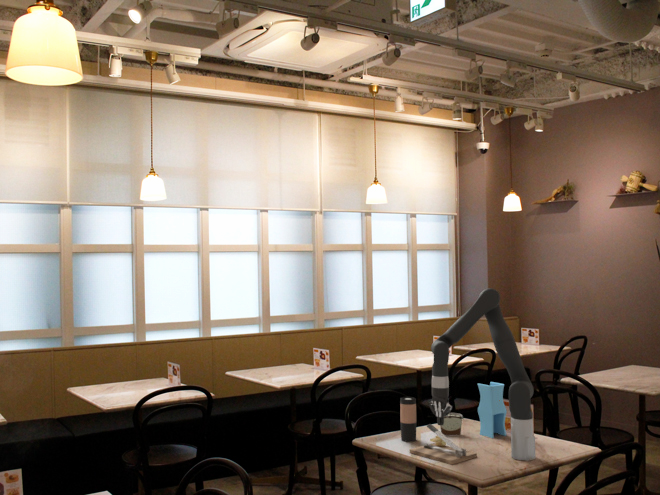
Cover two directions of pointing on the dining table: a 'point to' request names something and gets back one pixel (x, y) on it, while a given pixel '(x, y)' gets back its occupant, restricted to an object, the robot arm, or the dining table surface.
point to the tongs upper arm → (444, 437)
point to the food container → (452, 424)
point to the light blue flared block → (492, 409)
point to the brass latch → (438, 441)
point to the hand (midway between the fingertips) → (440, 425)
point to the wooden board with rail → (443, 453)
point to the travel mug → (408, 418)
